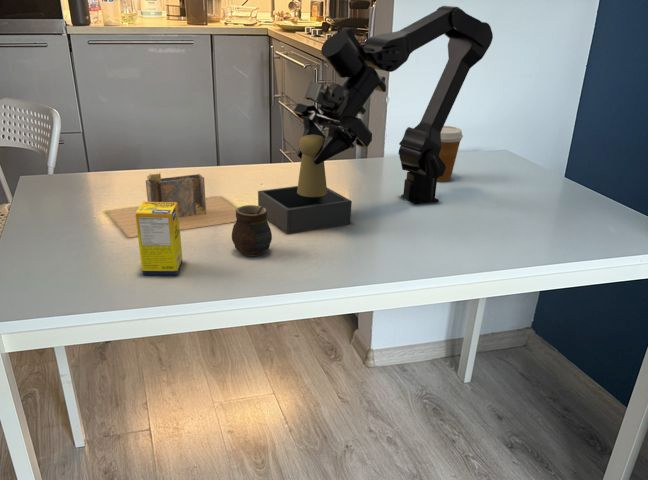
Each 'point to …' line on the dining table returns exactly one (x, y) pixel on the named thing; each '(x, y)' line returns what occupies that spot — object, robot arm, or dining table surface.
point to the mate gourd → (251, 230)
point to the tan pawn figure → (311, 168)
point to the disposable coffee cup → (449, 149)
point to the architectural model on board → (180, 203)
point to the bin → (304, 209)
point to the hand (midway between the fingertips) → (306, 160)
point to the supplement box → (159, 238)
